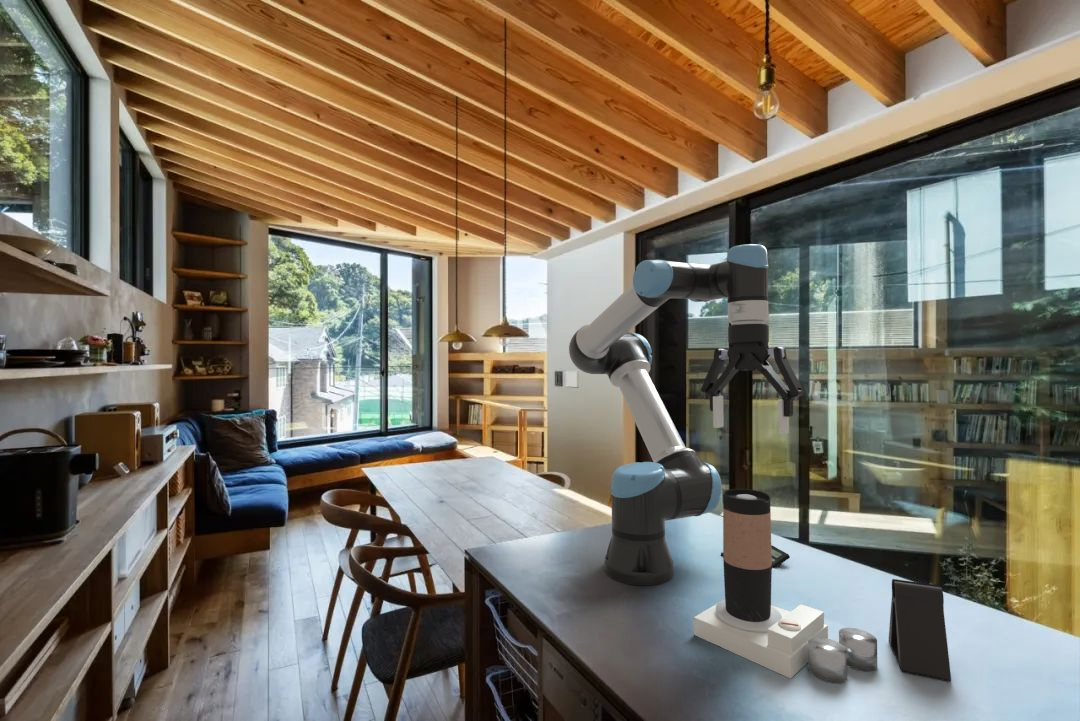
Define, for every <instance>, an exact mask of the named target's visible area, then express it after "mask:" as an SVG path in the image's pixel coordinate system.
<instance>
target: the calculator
mask: <svg viewBox="0 0 1080 721" xmlns="http://www.w3.org/2000/svg"><path fill="white" fill-rule="evenodd" d="M771 552H772V569H773V568H778V566H781V565H782V564H783V563H784V562H785V561H786V562H787V560H789V559H790V558H791V556H790V555H789V554H788V553H787V552H786V551H783V550H781V549H779V548H778V547H776V546H774V545H772V544H771ZM720 556H722V557H723V552H720Z"/></svg>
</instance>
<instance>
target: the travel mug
mask: <svg viewBox="0 0 1080 721" xmlns="http://www.w3.org/2000/svg"><path fill="white" fill-rule="evenodd" d="M722 494H723V495H722V503H723V504H722V506H723V507H722V509H723V510H722V515H723V516H722V518H723V521H722V524H723V525H722V530H723V532H722V536H723V537H722V541H723V544H722V547H723V548H722V550H723V551H722V553H723V556H722V557H723V560H722V561H723V579H724V580H723V582H724V599H725V605H726V611H727V612H728V613H729V614H730V615H731V616H733V617H735V618H737V619H740V620H744V621H749V622H762V621H766V620H768V619H769V618H770V615H771V605H772V571H773V568H772V552H771V545H772V520H771V519H772V518H771V517H772V516H771V513H772V512H771V496H770V495H769V494H768V493H766V492H763V491H761V490H755V489H748V488H734V489H727V490H724V491H723V493H722Z"/></svg>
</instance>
